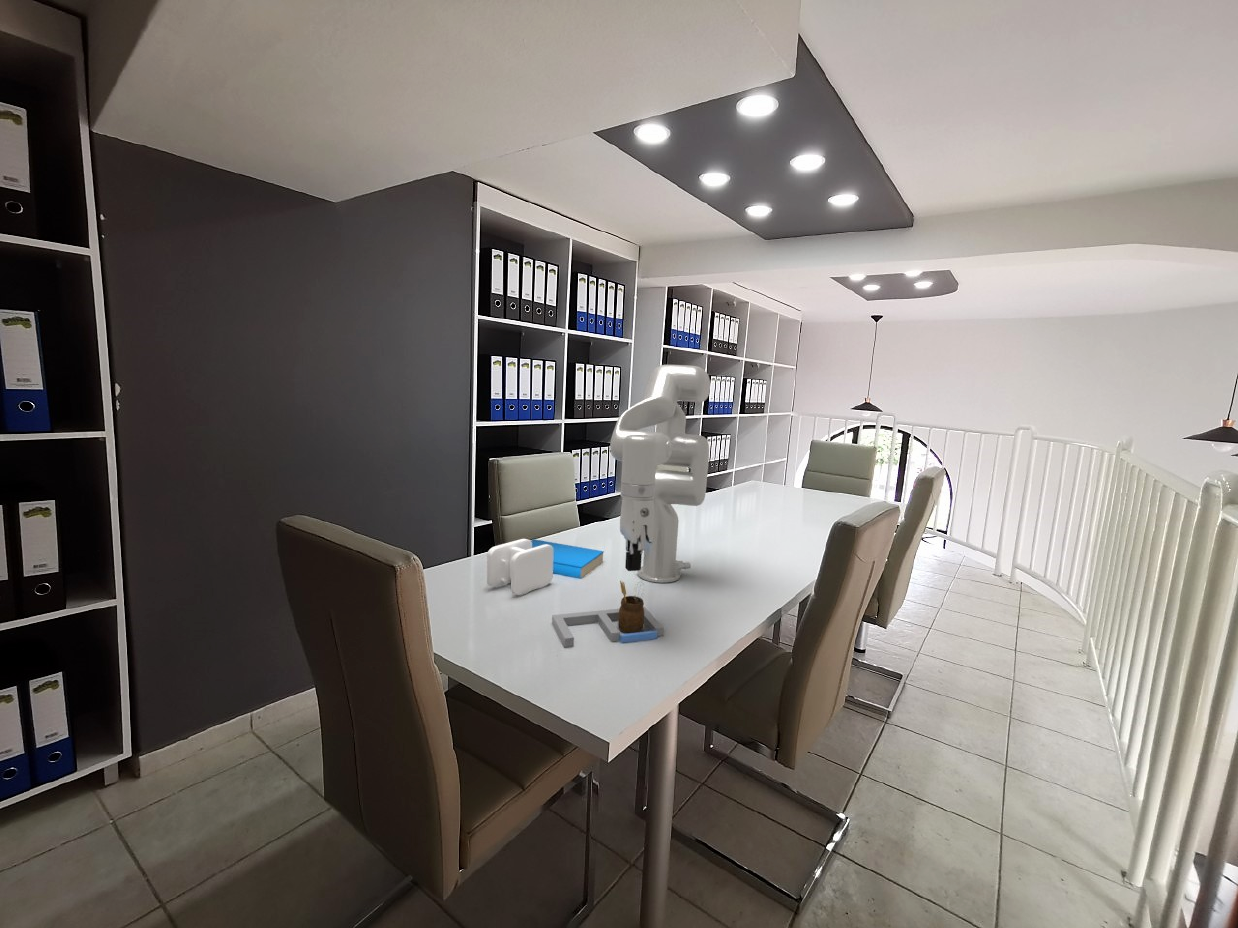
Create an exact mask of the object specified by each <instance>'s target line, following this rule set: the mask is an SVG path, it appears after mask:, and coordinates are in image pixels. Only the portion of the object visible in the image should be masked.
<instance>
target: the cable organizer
mask: <svg viewBox="0 0 1238 928" xmlns="http://www.w3.org/2000/svg"><path fill="white" fill-rule="evenodd" d="M531 541H532V540H530V539H527V538H521V539H517V540H513V541H509V542H506V543H502V544H498V545H495V546H492V547H491V548H490V549H489V550H488V551H487V556H486V557H487V558H486V560H487V561H486V569H487V570H486V584H487V586H490V587H492V588H498V589H499V588H502V587H504V586H506V587H507V586H508V584H510V591H511V592H512V594H514V595H517V596H524V595H525V594H529V593H530V592H531V591H533V590H536V589H537V590H539V589H541V588H544V587H546V586H547V585H548V584H550V583H551V581H552V579H553V576H554V573H553V552H554V549H553V547H552V546H551V545H547V544H544V545H541V546H538V547H534V548H532V542H531ZM523 594H524V595H523Z"/></svg>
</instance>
